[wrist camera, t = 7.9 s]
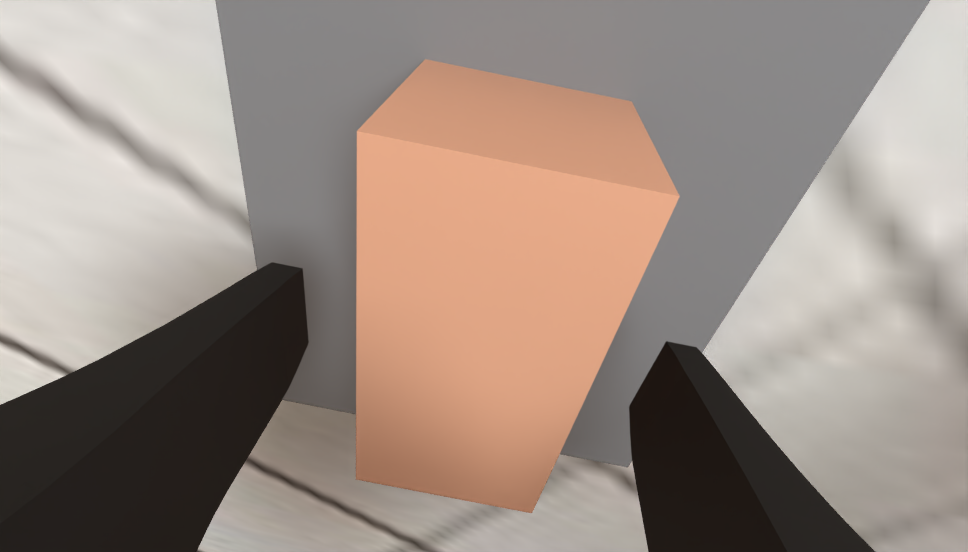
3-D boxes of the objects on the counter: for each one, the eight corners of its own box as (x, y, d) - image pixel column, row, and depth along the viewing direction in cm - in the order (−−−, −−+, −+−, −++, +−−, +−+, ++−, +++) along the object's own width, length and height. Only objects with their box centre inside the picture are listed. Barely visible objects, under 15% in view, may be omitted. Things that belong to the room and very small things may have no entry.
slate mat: (904, -13, 8) (935, -9, 7) (624, 446, 16) (627, 467, 16) (218, -160, 8) (190, -168, 7) (287, 380, 16) (276, 398, 16)
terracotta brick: (425, 59, 9) (357, 131, 6) (631, 101, 9) (680, 196, 6) (400, 350, 14) (356, 479, 10) (534, 377, 14) (531, 513, 10)
